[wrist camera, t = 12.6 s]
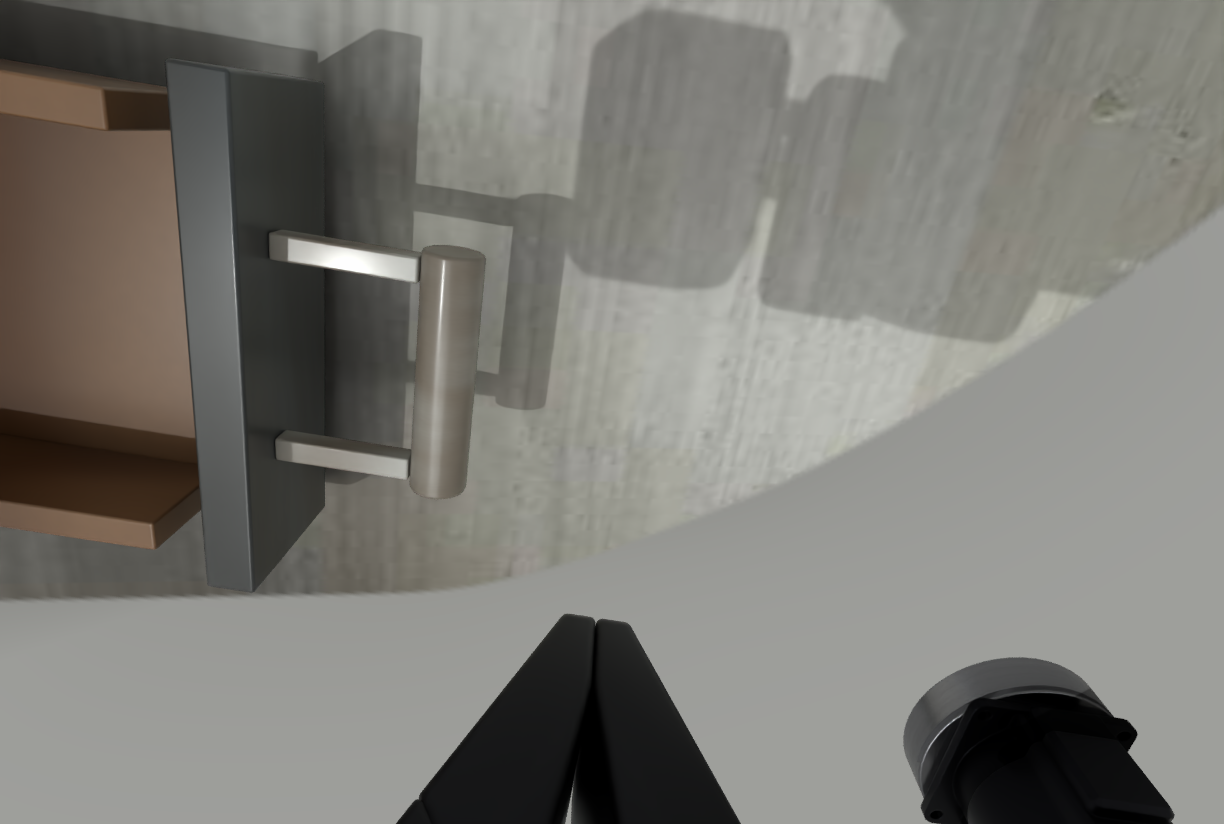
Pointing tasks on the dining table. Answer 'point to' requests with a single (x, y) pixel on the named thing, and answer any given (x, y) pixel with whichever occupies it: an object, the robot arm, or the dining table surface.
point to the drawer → (194, 316)
